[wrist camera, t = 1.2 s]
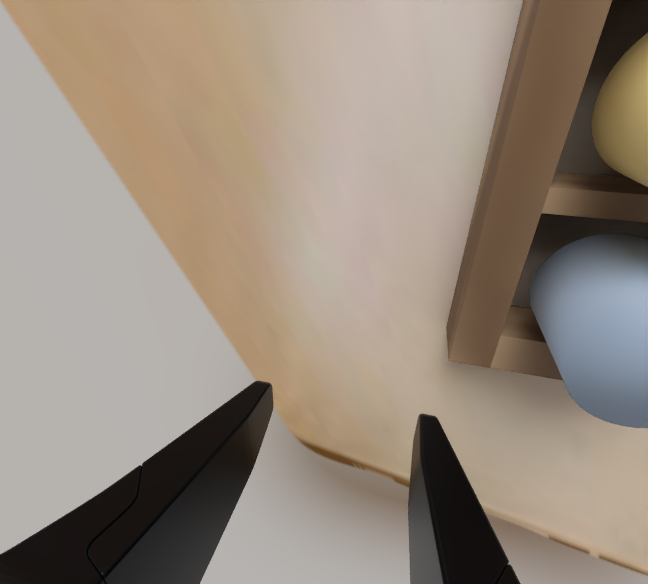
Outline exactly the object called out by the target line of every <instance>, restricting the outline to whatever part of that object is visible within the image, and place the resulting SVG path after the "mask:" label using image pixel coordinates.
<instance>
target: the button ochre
mask: <svg viewBox="0 0 648 584" xmlns="http://www.w3.org/2000/svg"><path fill="white" fill-rule="evenodd" d="M592 136H593V141H594V144H595V147H596V149H597V151H598V153H599V155H600V156H601V158H602V159H603V160H604V162H605V163H606V164H608V165H609V166H610V167H611V168H612V169H614V170H615V171H617V172H618V173H620V174H622V175H624V176H626V177H628V178H630V179H632V180H634V181H636V182H638V183H640V184H642V185H644V186H646V187H648V33H646V34H645V35H644V36H643V37H642V38H640V39H639V40H638V41H637V42H636V43H634V44H633V45H632V46H631V47H630V48H629V49H628V50H627V51H626V52H625V53H624V54H623V56H622V57H621V58H620V59H619V60H618V62H617V63H616V64H615V65H614V67H613V68H612V70H611V71H610V73H609V74H608V75H607V77H606V79H605V81H604V83H603V85H602V86H601V89H600V91H599V93H598V96H597V98H596V101H595V105H594V108H593V114H592Z"/></svg>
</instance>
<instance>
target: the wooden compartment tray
mask: <svg viewBox="0 0 648 584" xmlns="http://www.w3.org/2000/svg"><path fill="white" fill-rule="evenodd" d="M611 2H612V0H523V4H522V8H521V13H520V17H519V21H518V25H517V30H516V34H515V38H514V42H513V47H512V51H511V55H510V59H509V64H508V68H507V72H506V76H505V81H504V85H503V89H502V93H501V98H500V102H499V106H498V111H497V115H496V119H495V123H494V128H493V132H492V136H491V140H490V145H489V149H488V153H487V157H486V162H485V166H484V170H483V174H482V179H481V183H480V187H479V191H478V196H477V200H476V204H475V208H474V213H473V217H472V221H471V225H470V230H469V234H468V238H467V242H466V247H465V251H464V255H463V259H462V264H461V268H460V272H459V276H458V281H457V285H456V289H455V293H454V298H453V302H452V306H451V310H450V315H449V319H448V323H447V342H448V356H449V361H454V362H459V363H465V364H471V365H477V366H483V367H489V368H495V369H500V370H506V371H512V372H518V373H524V374H530V375H536V376H541V377H547V378H553V379H559V380H563V378H562V376H561V374H560V372H559V369H558V367H557V365H556V363H555V360H554V358H553V356H552V354H551V351H550V349H549V347H548V345H547V342H546V340H545V338H544V335H543V333H542V331H541V329H540V326H539V324H538V322H537V320H536V317H535V315H534V313H533V311H532V309H529V308H522V307H515V306H511V303H512V300H513V297H514V294H515V291H516V288H517V285H518V282H519V279H520V276H521V273H522V270H523V267H524V264H525V261H526V258H527V255H528V252H529V249H530V246H531V243H532V240H533V237H534V234H535V231H536V228H537V225H538V222H539V219H540V216H541V213H546V214H557V215H568V216H579V217H590V218H601V219H612V220H623V221H634V222H645V223H648V187H646V186H644V185H642V184H640V183H638V182H636V181H634V180H632V179H630V178H628V177H616V176H601V175H587V174H573V173H558V172H555V171H556V168H557V165H558V162H559V159H560V156H561V153H562V150H563V147H564V144H565V141H566V138H567V135H568V132H569V129H570V126H571V123H572V120H573V117H574V114H575V111H576V108H577V105H578V102H579V99H580V96H581V93H582V90H583V87H584V84H585V81H586V78H587V75H588V72H589V69H590V66H591V63H592V60H593V57H594V53H595V50H596V47H597V44H598V41H599V38H600V35H601V32H602V29H603V26H604V23H605V20H606V17H607V14H608V11H609V8H610V5H611Z"/></svg>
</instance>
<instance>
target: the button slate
mask: <svg viewBox="0 0 648 584" xmlns="http://www.w3.org/2000/svg"><path fill="white" fill-rule="evenodd" d="M529 300H530V305H531V308H532V311H533V313H534V315H535V317H536V320H537V322H538V324H539V326H540V329H541V331H542V333H543V335H544V338H545V340H546V342H547V345H548V347H549V349H550V351H551V354H552V356H553V358H554V360H555V363H556V365H557V367H558V369H559V372H560V374H561V376H562V378H563V381H564V383H565V385H566V387H567V390H568V392H569V394H570V395H571V397H572V398H573V400H574V401H575V402H576V403H577V404H578V405H579V406H580V407H581V408H583V409H584V410H585V411H586V412H588V413H590V414H591V415H593V416H595V417H597V418H599V419H602V420H604V421H607V422H610V423H613V424H618V425H622V426H628V427H635V428H648V240H645V239H643V238H641V237H637V236H634V235H629V234H622V233H607V234H598V235H592V236H589V237H585V238H582V239H579V240H577V241H574V242H572V243H570V244H568V245H566V246H564V247H562V248H561V249H559V250H558V251H556V252H555V253H554V254H552V255H551V256H550V257H549V258H548V259H547V260H546V261H545V262H544V263H543V264H542V265H541V266H540V268H539V269H538V270H537V272H536V274H535V275H534V278H533V280H532V282H531V286H530V292H529Z"/></svg>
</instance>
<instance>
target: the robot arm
mask: <svg viewBox="0 0 648 584" xmlns="http://www.w3.org/2000/svg"><path fill="white" fill-rule="evenodd" d="M272 411H273V392H272V385H271V384H270V383H268V382H263V381H255V382H254V383H252V384H251V385H250V386H248V387H247V388H245V389H244V390H243V391H241V392H240V393H239V394H237V395H236V396H234V397H233V398H232V399H231V400H229V401H228V402H226V403H225V404H223V405H222V406H221V407H219V408H218V409H217V410H215V411H214V412H213V413H211V414H210V415H208V416H207V417H205V418H204V419H203V420H201V421H200V422H199V423H197V424H196V425H195V426H193V427H192V428H190V429H189V430H188V431H186V432H185V433H183V434H182V435H181V436H180V437H178V438H177V439H175V440H174V441H172V442H171V443H170V444H168V445H167V446H166V447H164V448H163V449H161V450H160V451H159V452H157V453H156V454H155V455H153V456H152V457H151V458H149V459H148V460H146V461H145V462H144V463H143V464H142V466H141V465H140V466H138V467H136V468H135V469H134V470H132V471H131V472H130V473H128V474H127V475H125V476H124V477H123V478H121V479H120V480H118V481H117V482H116V483H114V484H113V485H111V486H110V487H109V488H107V489H105V490H104V491H102V492H101V493H100V494H98V495H97V496H95V497H93V498H92V499H90V500H88V501H87V502H85V503H84V504H82V505H81V506H79V507H77V508H76V509H74V510H73V511H71V512H69V513H68V514H66V515H65V516H63V517H62V518H60V519H58V520H57V521H55V522H53V523H52V524H50V525H48V526H47V527H45V528H43V529H42V530H40V531H39V532H37V533H36V534H34V535H32V536H30V537H29V538H27V539H26V540H24V541H22V542H21V543H19V544H17V545H16V546H14V547H12V548H11V549H9V550H7V551H6V552H4V553H2V554H0V584H200V582H201V580H202V577H203V575H204V573H205V571H206V569H207V567H208V565H209V562H210V560H211V558H212V556H213V554H214V552H215V550H216V547H217V545H218V543H219V541H220V539H221V537H222V535H223V532H224V530H225V528H226V526H227V524H228V522H229V519H230V517H231V515H232V513H233V511H234V509H235V507H236V504H237V502H238V500H239V498H240V496H241V494H242V491H243V489H244V487H245V485H246V483H247V481H248V478H249V476H250V474H251V472H252V470H253V467H254V464H255V462H256V459H257V456H258V453H259V450H260V447H261V444H262V441H263V438H264V435H265V432H266V430H267V427H268V423H269V421H270V417H271V414H272ZM408 520H409V552H410V582H411V584H520V582H519V580H518V578H517V576H516V574H515V572H514V570H513V568H512V566H511V565H507V564H508V563H509V560H508V558H507V556H506V555H505V552H504V550H503V548H502V546H501V544H500V543H499V540H498V538H497V536H496V534H495V532H494V530H493V528H492V526H491V524H490V522H489V520H488V518H487V516H486V514H485V512H484V510H483V508H482V506H481V504H480V502H479V500H478V498H477V496H476V494H475V492H474V490H473V488H472V486H471V484H470V482H469V480H468V478H467V476H466V474H465V472H464V470H463V468H462V466H461V464H460V462H459V460H458V458H457V456H456V454H455V452H454V450H453V448H452V446H451V444H450V442H449V440H448V438H447V436H446V434H445V432H444V430H443V428H442V426H441V424H440V422H439V420H438V419H437V417H435V416H432V415H427V414H420V415H419V417H418V421H417V426H416V430H415V435H414V441H413V452H412V464H411V475H410V487H409V502H408Z"/></svg>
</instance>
